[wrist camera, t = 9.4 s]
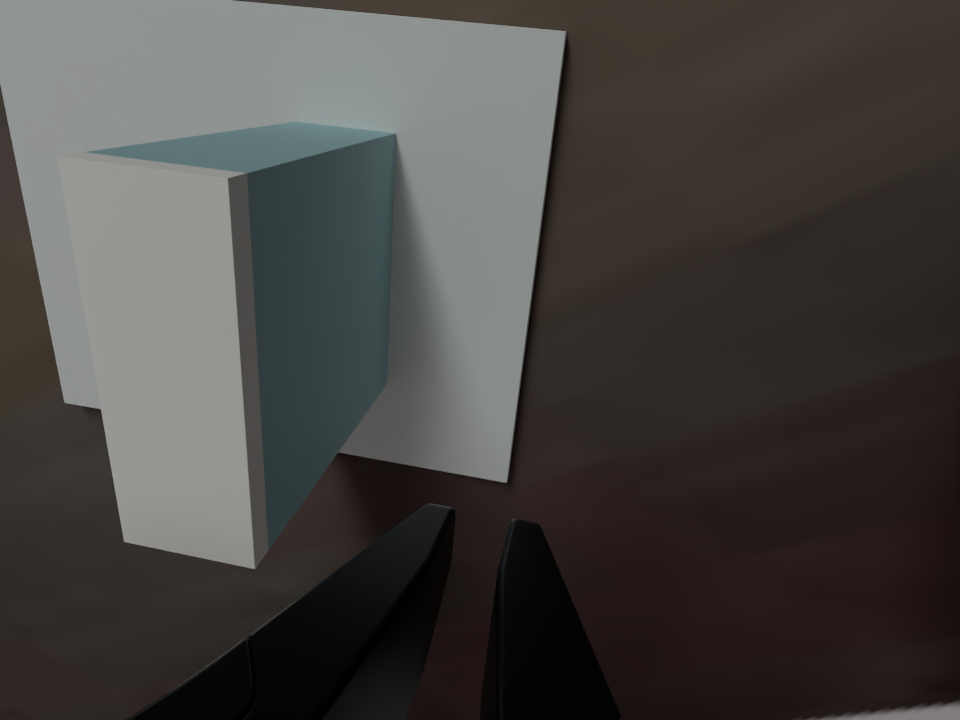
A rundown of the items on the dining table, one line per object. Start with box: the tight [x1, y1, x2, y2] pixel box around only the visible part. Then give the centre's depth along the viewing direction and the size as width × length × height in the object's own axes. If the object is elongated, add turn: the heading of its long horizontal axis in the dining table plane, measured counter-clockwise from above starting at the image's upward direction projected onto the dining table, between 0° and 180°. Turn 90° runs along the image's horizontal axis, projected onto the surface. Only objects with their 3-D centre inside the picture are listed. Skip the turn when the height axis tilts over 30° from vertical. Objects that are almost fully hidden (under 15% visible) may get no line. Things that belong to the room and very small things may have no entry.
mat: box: [0, 0, 567, 483], centre depth 21 cm, size 17×14×1 cm
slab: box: [57, 122, 396, 569], centre depth 16 cm, size 3×8×9 cm, turn 174°
